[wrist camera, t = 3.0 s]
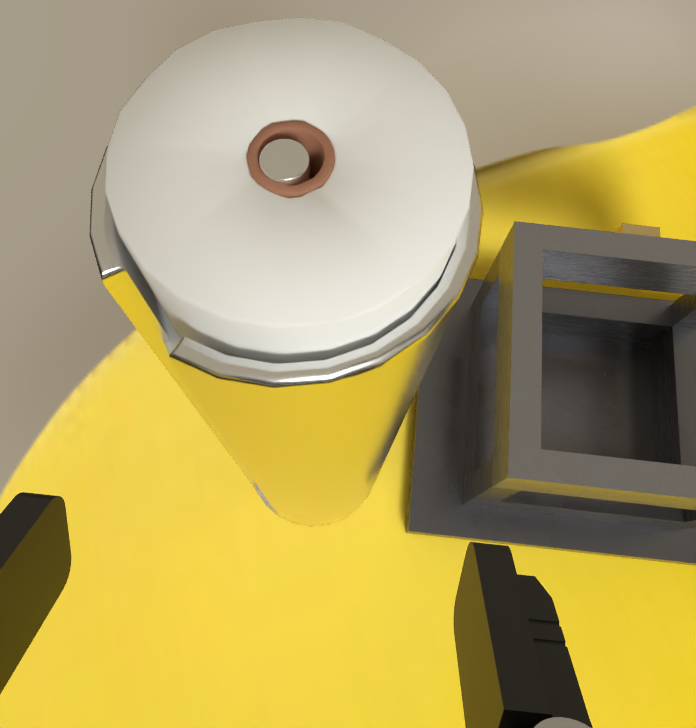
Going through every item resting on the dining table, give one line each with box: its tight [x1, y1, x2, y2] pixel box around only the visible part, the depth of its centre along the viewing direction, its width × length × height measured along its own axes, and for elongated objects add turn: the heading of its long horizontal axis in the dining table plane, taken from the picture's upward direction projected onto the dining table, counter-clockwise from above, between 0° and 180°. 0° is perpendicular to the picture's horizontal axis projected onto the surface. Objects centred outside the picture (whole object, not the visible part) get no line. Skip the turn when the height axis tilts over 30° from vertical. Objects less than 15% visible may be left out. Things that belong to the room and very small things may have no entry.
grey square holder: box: [406, 221, 696, 565], centre depth 30 cm, size 16×14×10 cm
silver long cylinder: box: [90, 17, 483, 527], centre depth 21 cm, size 6×6×25 cm
